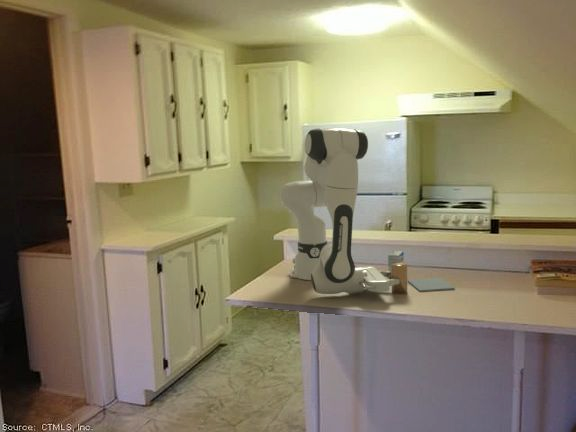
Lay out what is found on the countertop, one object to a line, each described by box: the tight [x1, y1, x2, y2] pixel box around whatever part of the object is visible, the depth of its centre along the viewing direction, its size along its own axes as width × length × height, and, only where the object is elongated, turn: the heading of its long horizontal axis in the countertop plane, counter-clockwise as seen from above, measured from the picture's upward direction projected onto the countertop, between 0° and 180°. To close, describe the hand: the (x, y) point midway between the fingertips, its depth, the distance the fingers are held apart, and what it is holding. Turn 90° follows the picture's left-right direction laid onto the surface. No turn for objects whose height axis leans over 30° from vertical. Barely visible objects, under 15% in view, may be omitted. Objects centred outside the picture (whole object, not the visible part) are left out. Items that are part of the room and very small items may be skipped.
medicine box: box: [387, 250, 405, 277], centre depth 210 cm, size 8×4×9 cm, turn 154°
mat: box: [407, 277, 456, 293], centre depth 194 cm, size 13×13×1 cm
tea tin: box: [391, 262, 408, 295], centre depth 187 cm, size 6×6×10 cm
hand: (394, 277), depth 187 cm, fingers open, 8 cm apart
